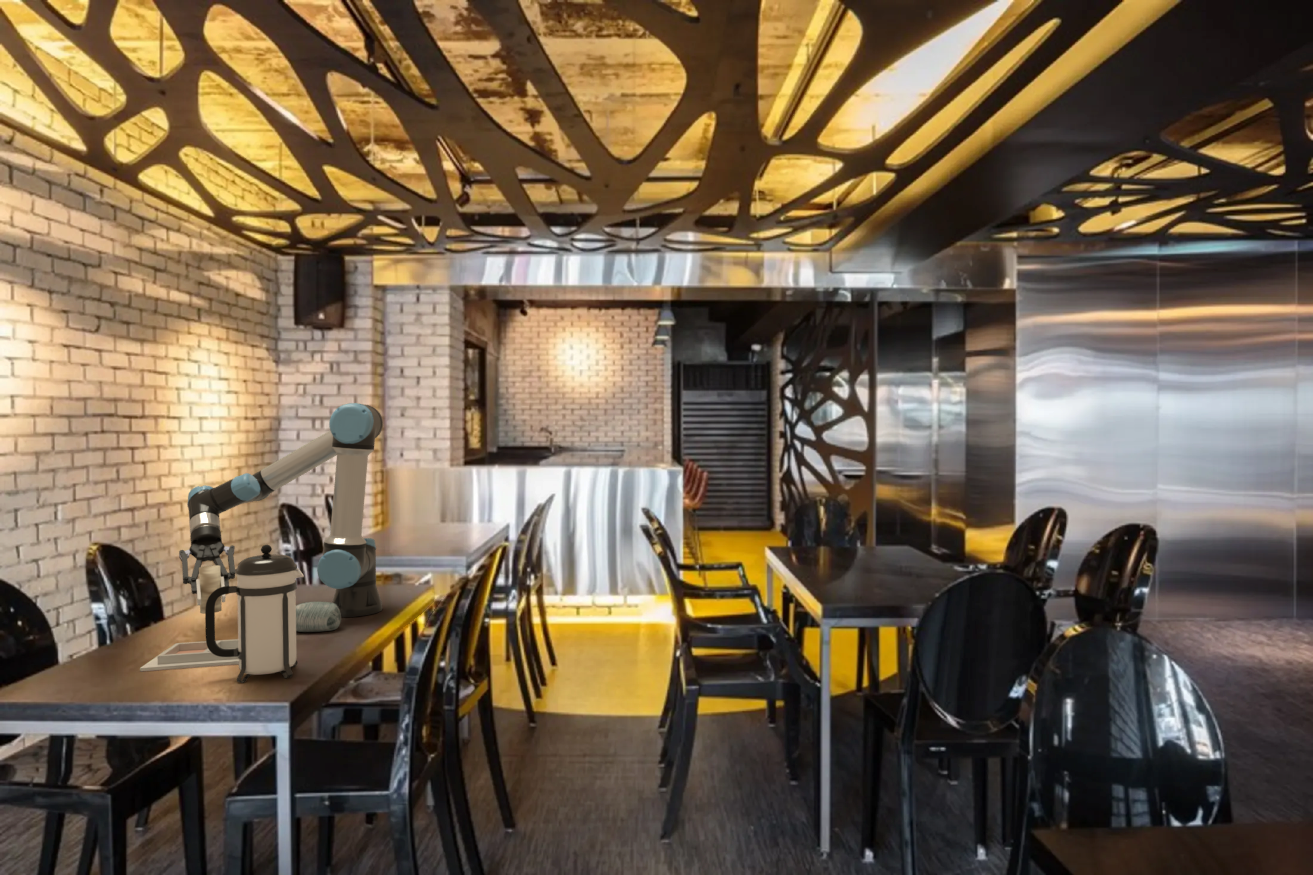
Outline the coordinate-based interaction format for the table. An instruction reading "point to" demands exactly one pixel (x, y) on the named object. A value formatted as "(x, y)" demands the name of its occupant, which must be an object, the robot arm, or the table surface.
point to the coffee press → (261, 615)
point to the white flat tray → (191, 656)
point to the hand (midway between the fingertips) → (211, 600)
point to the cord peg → (209, 585)
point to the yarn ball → (317, 617)
